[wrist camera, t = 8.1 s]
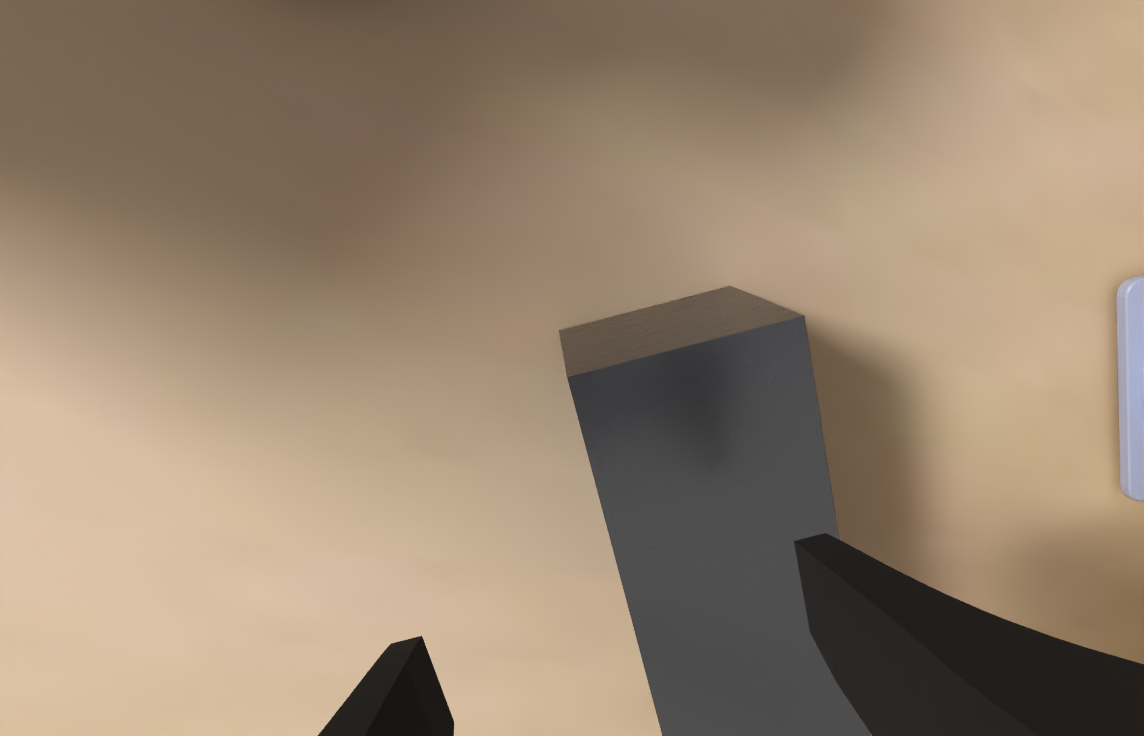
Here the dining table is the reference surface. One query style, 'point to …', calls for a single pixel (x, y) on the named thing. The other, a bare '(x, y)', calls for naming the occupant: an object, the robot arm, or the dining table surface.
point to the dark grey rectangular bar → (713, 506)
